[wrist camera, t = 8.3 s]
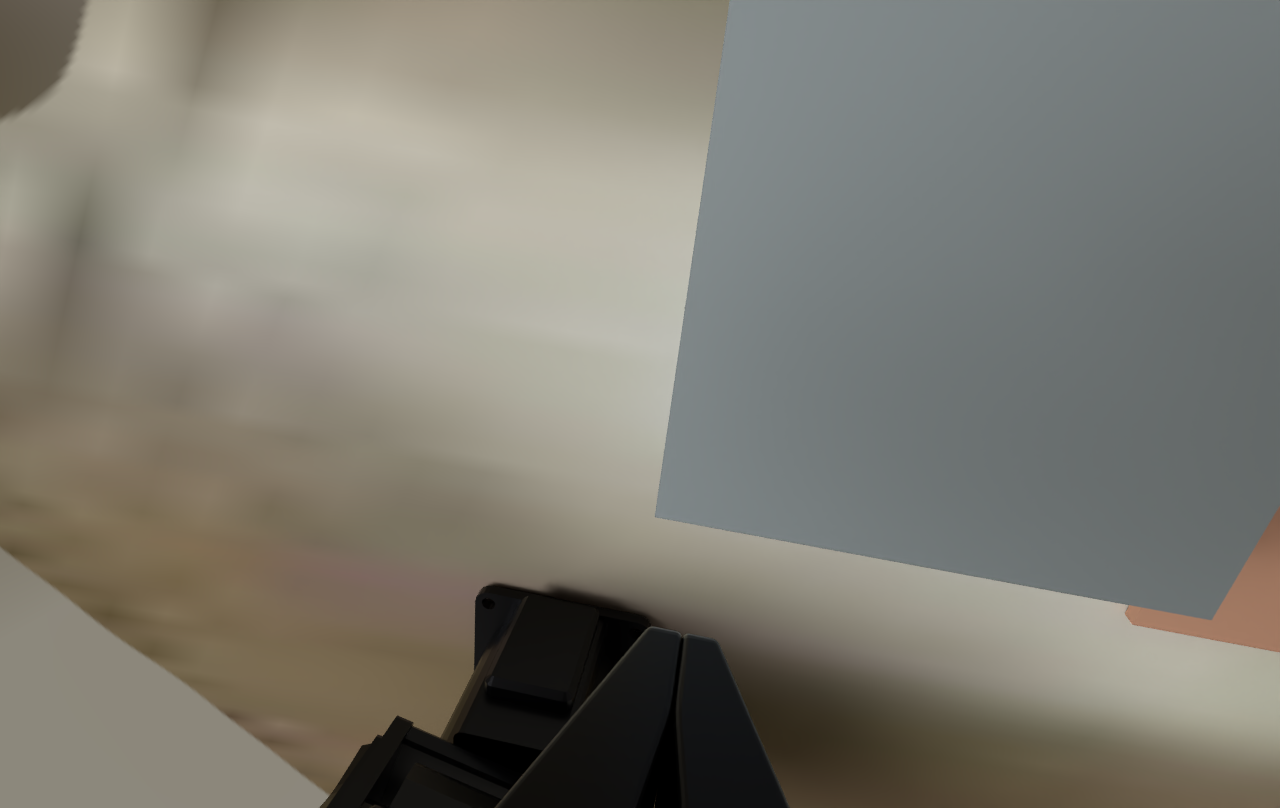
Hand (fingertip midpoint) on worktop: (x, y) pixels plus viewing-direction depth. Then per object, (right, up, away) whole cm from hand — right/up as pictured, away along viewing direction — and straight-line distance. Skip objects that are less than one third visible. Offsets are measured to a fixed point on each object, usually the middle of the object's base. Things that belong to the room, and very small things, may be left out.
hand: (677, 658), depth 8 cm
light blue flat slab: (+8, +7, +10) cm, 15 cm away
